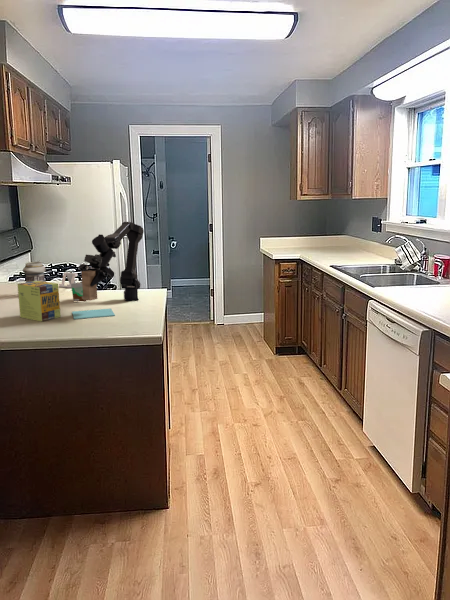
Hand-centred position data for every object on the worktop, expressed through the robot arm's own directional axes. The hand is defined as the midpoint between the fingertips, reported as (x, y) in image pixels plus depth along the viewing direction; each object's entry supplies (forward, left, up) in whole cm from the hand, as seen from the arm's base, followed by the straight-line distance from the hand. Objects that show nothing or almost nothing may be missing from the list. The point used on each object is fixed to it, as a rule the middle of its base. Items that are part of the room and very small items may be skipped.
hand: (87, 285), depth 231 cm
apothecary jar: (+23, -58, -14) cm, 64 cm away
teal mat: (-2, 0, -14) cm, 14 cm away
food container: (0, -33, -14) cm, 36 cm away
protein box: (+21, -3, -14) cm, 25 cm away
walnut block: (-1, -1, -7) cm, 7 cm away
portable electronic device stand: (+5, -77, -14) cm, 78 cm away
